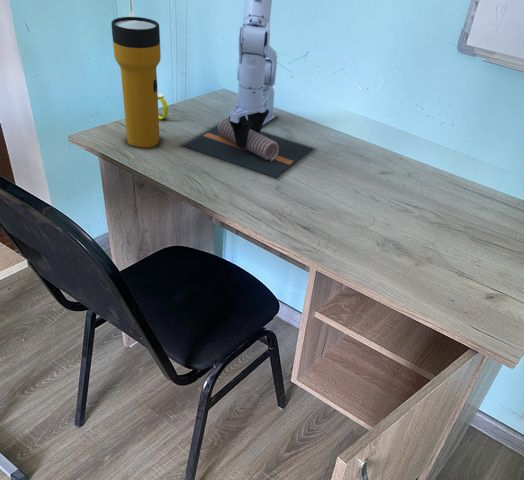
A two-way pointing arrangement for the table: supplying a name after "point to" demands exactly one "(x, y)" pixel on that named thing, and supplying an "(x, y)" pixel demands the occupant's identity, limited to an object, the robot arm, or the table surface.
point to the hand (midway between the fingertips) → (247, 143)
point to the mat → (230, 152)
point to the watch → (161, 98)
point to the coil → (251, 141)
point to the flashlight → (138, 76)
